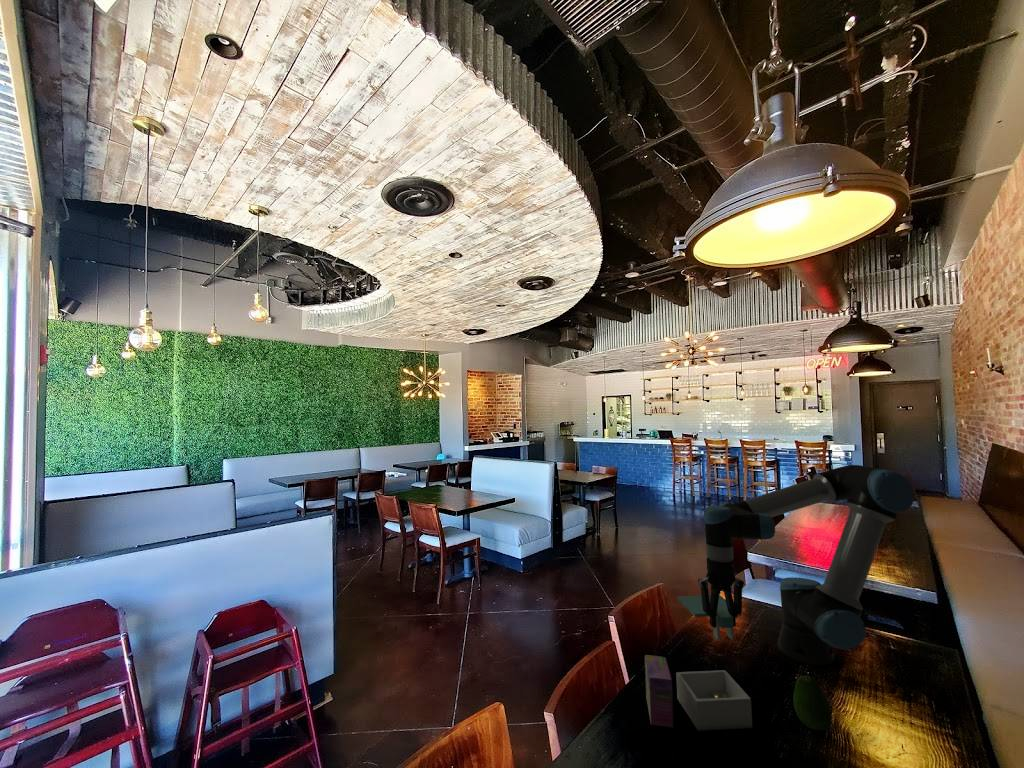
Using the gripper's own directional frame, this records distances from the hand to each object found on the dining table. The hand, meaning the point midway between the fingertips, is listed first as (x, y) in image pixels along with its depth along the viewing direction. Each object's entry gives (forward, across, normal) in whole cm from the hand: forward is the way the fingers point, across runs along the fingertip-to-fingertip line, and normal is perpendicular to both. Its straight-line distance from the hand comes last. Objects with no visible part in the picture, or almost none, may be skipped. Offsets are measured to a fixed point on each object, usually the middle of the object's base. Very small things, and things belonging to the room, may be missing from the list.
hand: (723, 637), depth 128 cm
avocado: (+11, -10, +22) cm, 27 cm away
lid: (-4, 0, -6) cm, 8 cm away
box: (+12, +26, +14) cm, 31 cm away
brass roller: (+11, +9, +13) cm, 19 cm away
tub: (+11, +12, +15) cm, 22 cm away
